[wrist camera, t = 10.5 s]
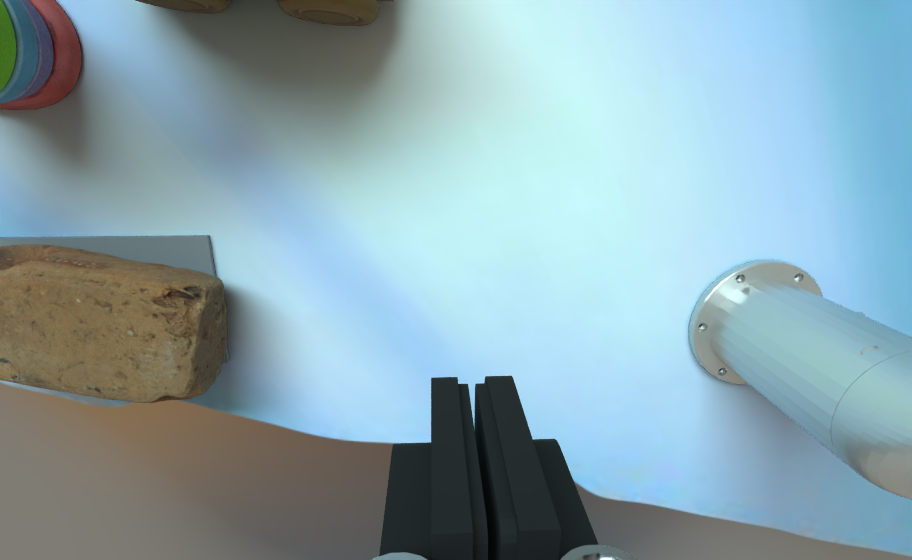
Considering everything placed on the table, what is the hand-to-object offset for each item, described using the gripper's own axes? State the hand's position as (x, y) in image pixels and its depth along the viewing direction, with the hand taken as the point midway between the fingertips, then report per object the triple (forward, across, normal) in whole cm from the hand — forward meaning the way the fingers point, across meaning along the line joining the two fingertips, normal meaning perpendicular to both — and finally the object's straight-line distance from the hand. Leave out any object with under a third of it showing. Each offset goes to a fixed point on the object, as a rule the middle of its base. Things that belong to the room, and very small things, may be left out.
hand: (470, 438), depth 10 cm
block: (+29, +19, +11) cm, 36 cm away
